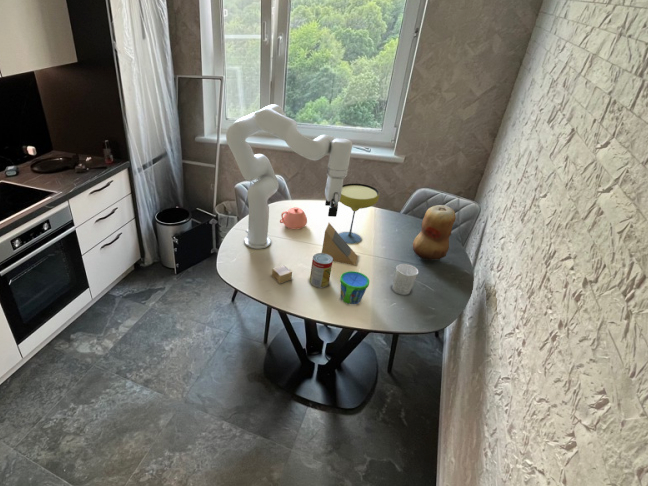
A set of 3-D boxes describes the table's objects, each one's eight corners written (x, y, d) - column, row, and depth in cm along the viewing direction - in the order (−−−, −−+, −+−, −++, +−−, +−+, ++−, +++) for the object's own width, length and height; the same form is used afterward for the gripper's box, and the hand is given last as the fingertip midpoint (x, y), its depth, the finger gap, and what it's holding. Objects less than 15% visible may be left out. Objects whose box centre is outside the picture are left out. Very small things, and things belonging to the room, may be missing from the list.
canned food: (331, 279, 169) (335, 255, 162) (325, 289, 164) (329, 265, 157) (313, 274, 173) (316, 251, 166) (306, 284, 167) (310, 260, 161)
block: (271, 276, 173) (272, 268, 171) (283, 272, 175) (283, 264, 173) (279, 283, 169) (280, 275, 166) (291, 279, 171) (292, 271, 168)
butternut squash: (405, 259, 179) (419, 208, 165) (415, 246, 187) (430, 197, 173) (438, 270, 171) (457, 218, 157) (448, 256, 179) (466, 206, 165)
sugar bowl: (308, 230, 204) (311, 213, 198) (281, 232, 204) (282, 214, 198) (303, 219, 214) (305, 202, 208) (277, 220, 214) (278, 203, 209)
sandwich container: (355, 266, 176) (362, 236, 168) (320, 259, 182) (324, 230, 174) (358, 256, 183) (364, 227, 174) (324, 249, 189) (328, 221, 180)
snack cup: (355, 315, 150) (360, 294, 144) (329, 304, 156) (333, 283, 150) (371, 294, 160) (376, 274, 154) (345, 285, 166) (349, 264, 160)
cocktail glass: (371, 233, 199) (382, 186, 185) (365, 251, 186) (377, 202, 172) (334, 226, 206) (341, 181, 192) (326, 243, 193) (334, 195, 179)
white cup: (402, 298, 157) (409, 277, 151) (386, 287, 163) (391, 267, 157) (416, 291, 160) (423, 271, 154) (399, 281, 166) (405, 261, 160)
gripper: (324, 163, 163) (319, 201, 173) (330, 180, 149) (323, 220, 159) (343, 163, 162) (336, 201, 172) (350, 180, 148) (343, 221, 158)
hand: (330, 210), depth 165 cm, fingers open, 9 cm apart
